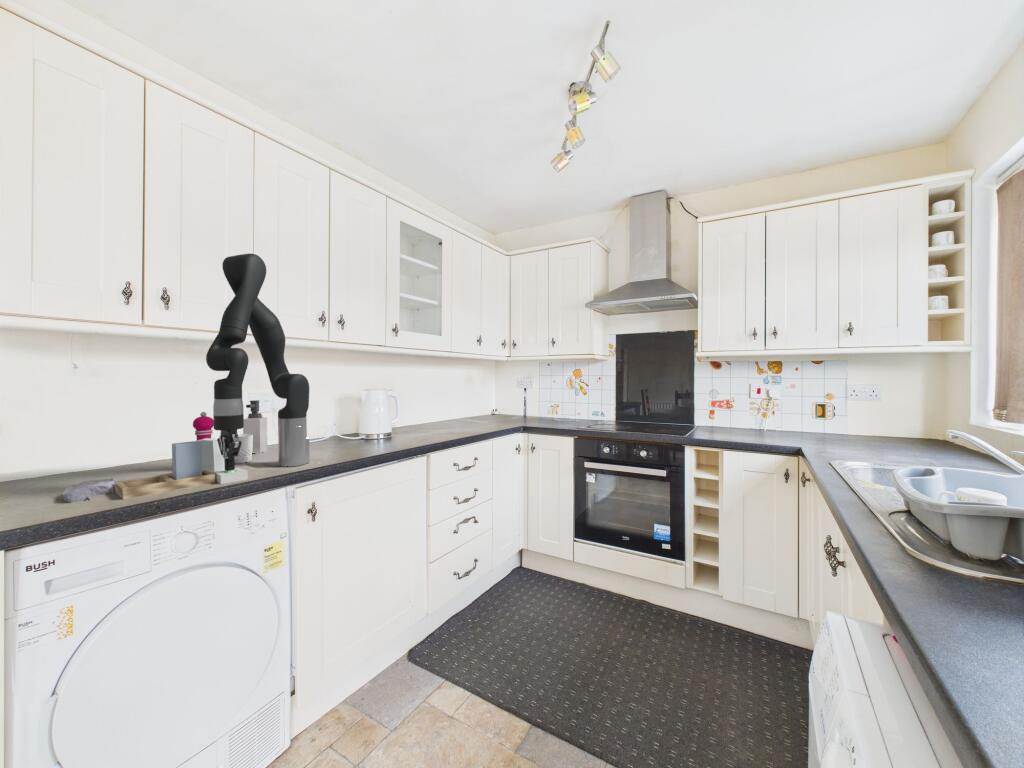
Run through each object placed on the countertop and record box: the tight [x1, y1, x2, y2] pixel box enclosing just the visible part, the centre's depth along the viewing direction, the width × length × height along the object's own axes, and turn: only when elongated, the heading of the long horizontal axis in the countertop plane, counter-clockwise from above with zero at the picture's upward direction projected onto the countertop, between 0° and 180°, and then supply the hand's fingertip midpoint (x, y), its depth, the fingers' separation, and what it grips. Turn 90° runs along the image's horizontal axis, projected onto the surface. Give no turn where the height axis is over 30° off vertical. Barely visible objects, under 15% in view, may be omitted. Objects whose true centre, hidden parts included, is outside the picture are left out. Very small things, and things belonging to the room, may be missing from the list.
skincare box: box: [196, 437, 225, 473], centre depth 133 cm, size 6×4×12 cm
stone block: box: [62, 477, 116, 503], centre depth 111 cm, size 12×5×10 cm
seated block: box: [171, 440, 202, 480], centre depth 119 cm, size 6×4×12 cm, turn 143°
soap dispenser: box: [242, 400, 268, 454], centre depth 170 cm, size 6×9×22 cm
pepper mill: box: [192, 411, 214, 441], centre depth 142 cm, size 7×7×20 cm
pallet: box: [114, 469, 216, 500], centre depth 116 cm, size 20×11×4 cm, turn 143°
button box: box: [213, 467, 249, 485], centre depth 124 cm, size 7×7×4 cm
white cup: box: [235, 433, 253, 464], centre depth 153 cm, size 8×8×10 cm
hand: (229, 470), depth 124 cm, fingers closed
